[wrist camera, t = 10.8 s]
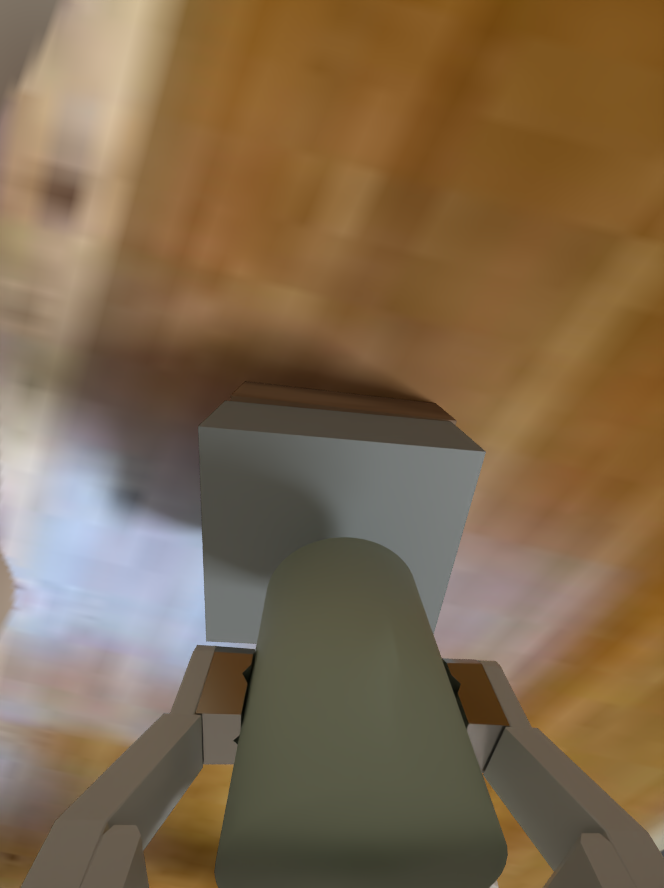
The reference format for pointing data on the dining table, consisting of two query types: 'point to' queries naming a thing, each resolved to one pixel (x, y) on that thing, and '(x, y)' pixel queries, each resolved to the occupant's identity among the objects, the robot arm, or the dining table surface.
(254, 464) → the grey slab
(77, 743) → the dining table surface
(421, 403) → the walnut slab
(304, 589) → the sage green rounded oval
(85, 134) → the dining table surface
